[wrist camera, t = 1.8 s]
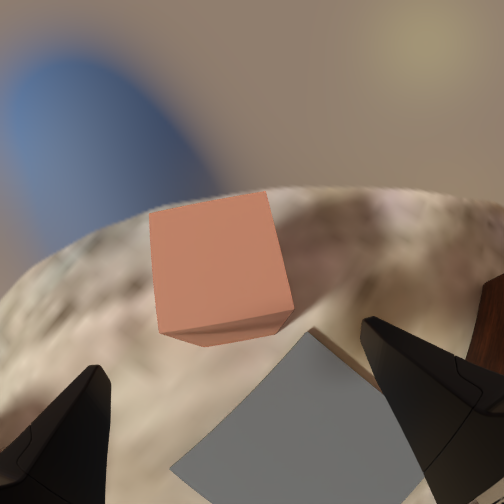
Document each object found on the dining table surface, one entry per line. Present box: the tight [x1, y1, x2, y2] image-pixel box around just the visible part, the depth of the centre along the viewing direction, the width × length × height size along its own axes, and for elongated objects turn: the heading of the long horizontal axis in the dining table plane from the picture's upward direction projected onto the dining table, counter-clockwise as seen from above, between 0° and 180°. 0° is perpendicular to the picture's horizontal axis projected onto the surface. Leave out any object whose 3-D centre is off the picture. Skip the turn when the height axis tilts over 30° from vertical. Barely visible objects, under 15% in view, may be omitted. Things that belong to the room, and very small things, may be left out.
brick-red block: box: [149, 191, 295, 347], centre depth 16 cm, size 5×5×10 cm
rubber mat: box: [169, 332, 425, 504], centre depth 16 cm, size 16×14×1 cm
